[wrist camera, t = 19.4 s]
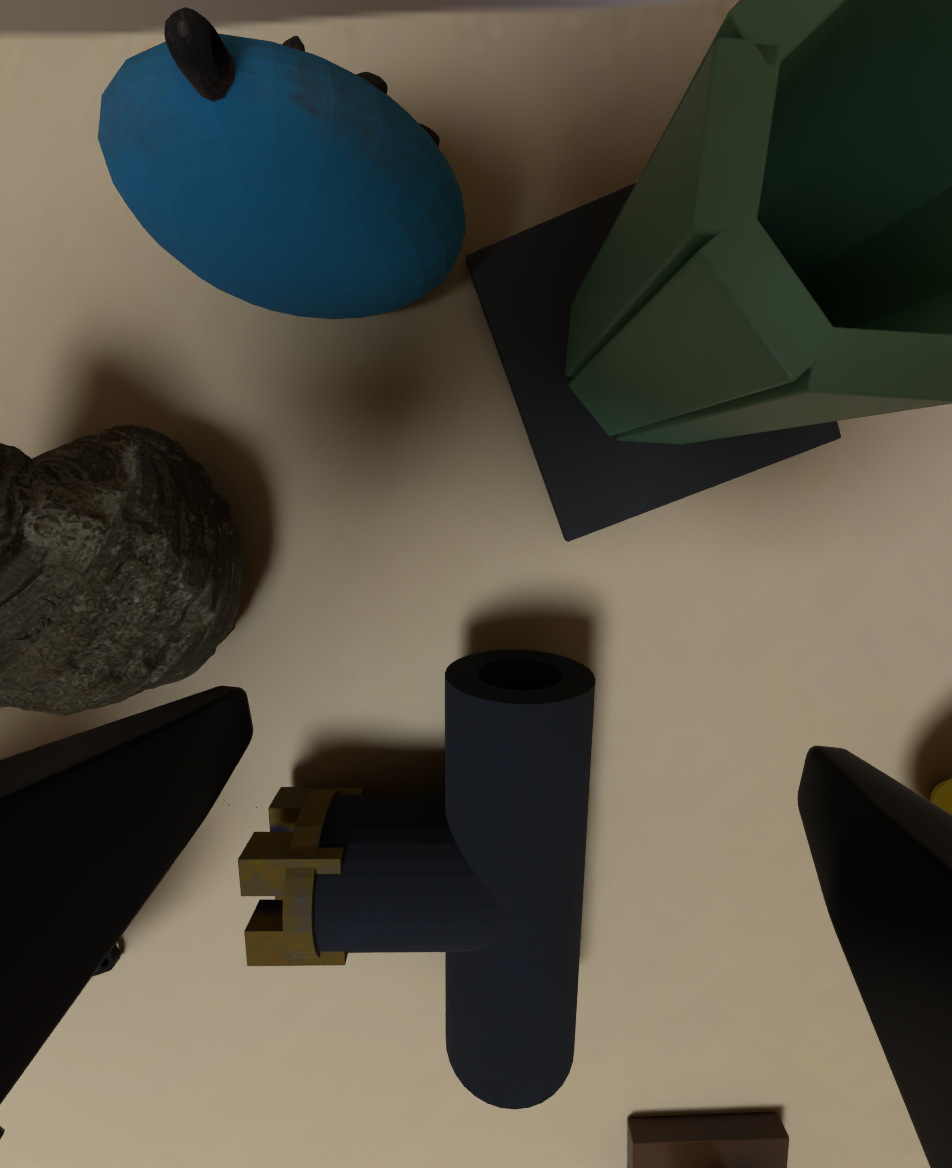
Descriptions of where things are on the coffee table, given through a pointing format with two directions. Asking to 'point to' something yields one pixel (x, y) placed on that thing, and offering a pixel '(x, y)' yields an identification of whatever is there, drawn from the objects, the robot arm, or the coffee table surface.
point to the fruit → (943, 795)
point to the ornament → (280, 174)
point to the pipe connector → (456, 871)
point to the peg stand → (708, 1141)
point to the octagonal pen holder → (783, 233)
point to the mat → (556, 415)
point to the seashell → (110, 570)
